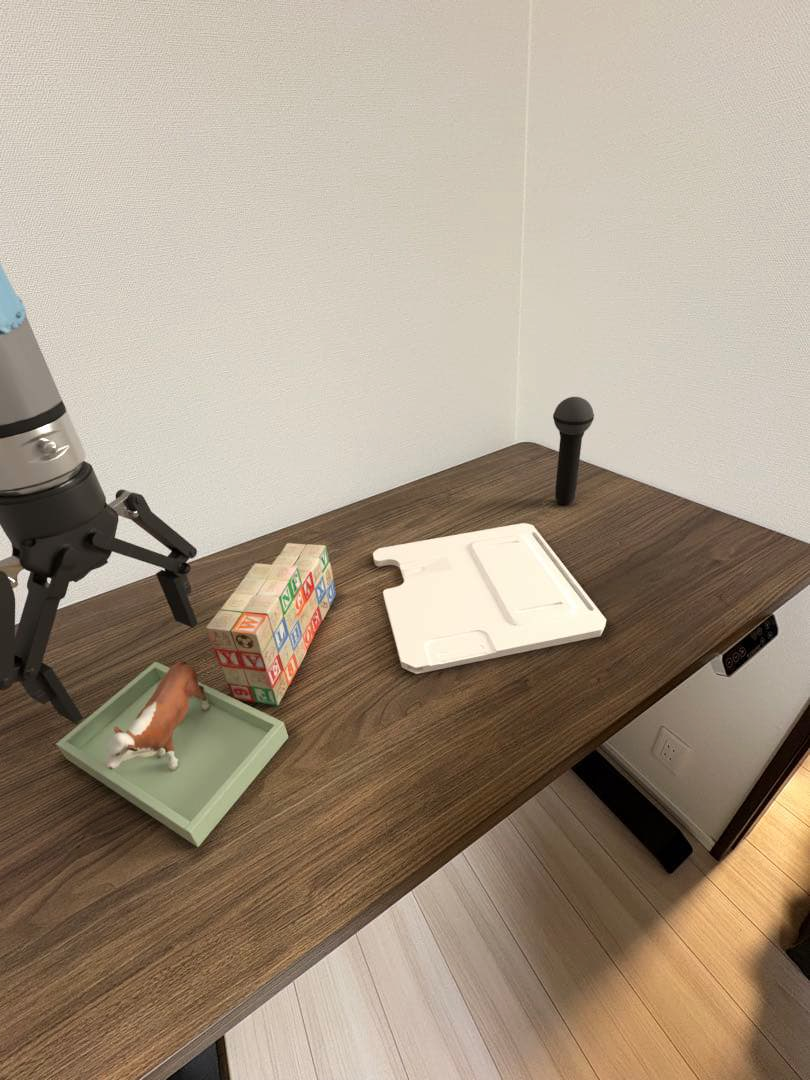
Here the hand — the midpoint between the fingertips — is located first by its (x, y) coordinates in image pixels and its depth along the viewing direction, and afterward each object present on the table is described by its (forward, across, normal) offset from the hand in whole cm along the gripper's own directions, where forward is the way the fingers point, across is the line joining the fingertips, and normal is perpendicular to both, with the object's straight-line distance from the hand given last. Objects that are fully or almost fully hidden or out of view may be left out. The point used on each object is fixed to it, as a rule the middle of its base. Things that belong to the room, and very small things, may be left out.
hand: (134, 664), depth 53 cm
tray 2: (+14, +40, -20) cm, 47 cm away
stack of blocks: (+14, +19, -1) cm, 23 cm away
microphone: (+14, +70, -25) cm, 76 cm away
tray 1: (+14, 0, 0) cm, 14 cm away
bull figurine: (+13, 0, 0) cm, 13 cm away
